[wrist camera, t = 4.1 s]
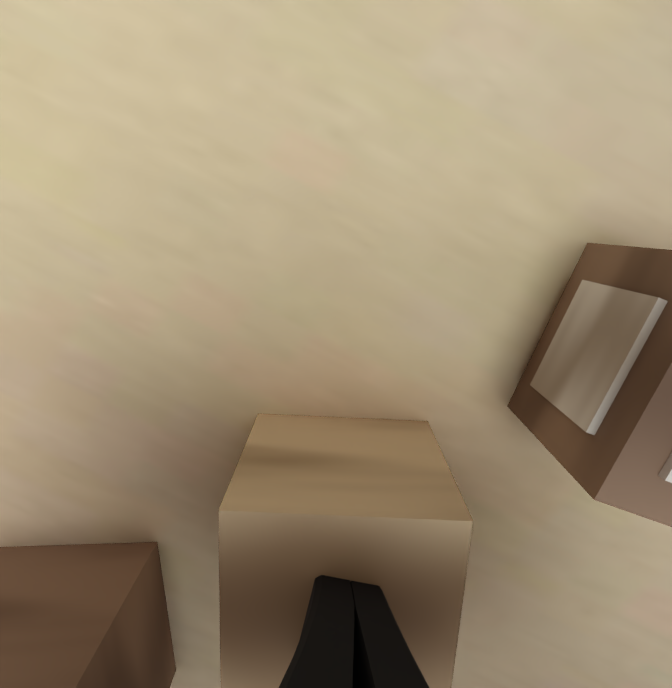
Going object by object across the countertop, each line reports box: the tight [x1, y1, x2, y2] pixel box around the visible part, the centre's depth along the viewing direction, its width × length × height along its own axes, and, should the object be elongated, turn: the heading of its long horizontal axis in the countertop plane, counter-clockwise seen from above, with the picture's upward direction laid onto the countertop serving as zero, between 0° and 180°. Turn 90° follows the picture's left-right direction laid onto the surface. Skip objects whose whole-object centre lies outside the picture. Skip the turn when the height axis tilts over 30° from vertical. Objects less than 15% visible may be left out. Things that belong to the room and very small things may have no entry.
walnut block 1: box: [0, 542, 176, 688], centre depth 14 cm, size 5×5×5 cm
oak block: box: [218, 414, 473, 688], centre depth 13 cm, size 5×5×5 cm
